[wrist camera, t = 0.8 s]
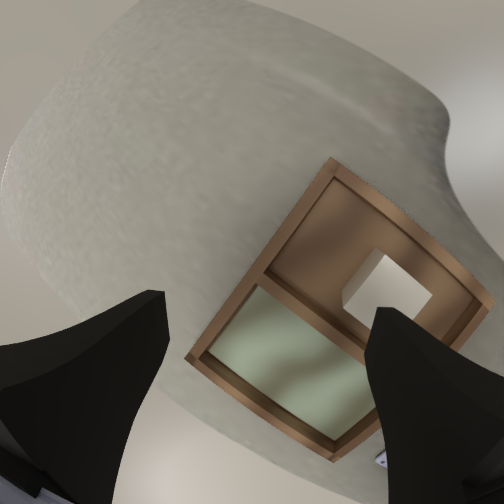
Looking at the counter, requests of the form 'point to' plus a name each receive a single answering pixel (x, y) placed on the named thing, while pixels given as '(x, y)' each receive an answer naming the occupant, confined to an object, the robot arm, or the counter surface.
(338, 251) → the sorting tray
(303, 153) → the counter surface
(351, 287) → the stone block
